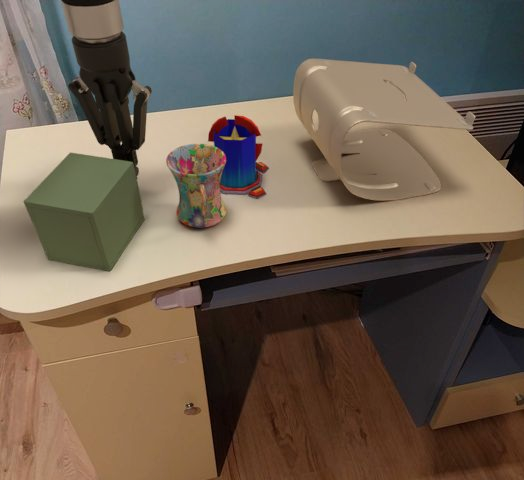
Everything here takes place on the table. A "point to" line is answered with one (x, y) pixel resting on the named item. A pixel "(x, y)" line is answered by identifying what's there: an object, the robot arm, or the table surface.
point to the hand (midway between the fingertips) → (130, 182)
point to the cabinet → (87, 210)
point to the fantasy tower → (239, 156)
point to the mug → (198, 183)
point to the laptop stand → (376, 111)
